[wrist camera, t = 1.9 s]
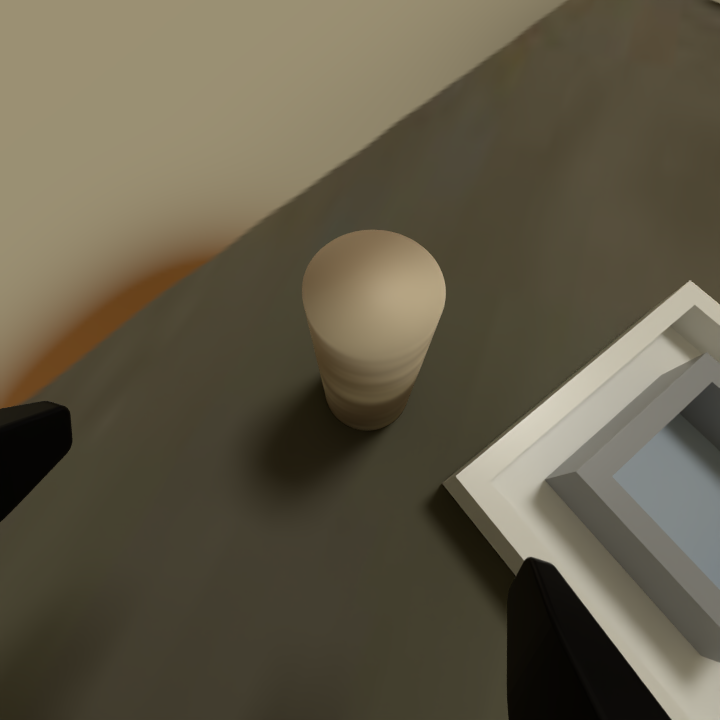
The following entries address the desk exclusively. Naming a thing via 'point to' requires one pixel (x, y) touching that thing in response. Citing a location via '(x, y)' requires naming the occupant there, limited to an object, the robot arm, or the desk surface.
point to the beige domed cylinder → (371, 322)
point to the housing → (625, 496)
